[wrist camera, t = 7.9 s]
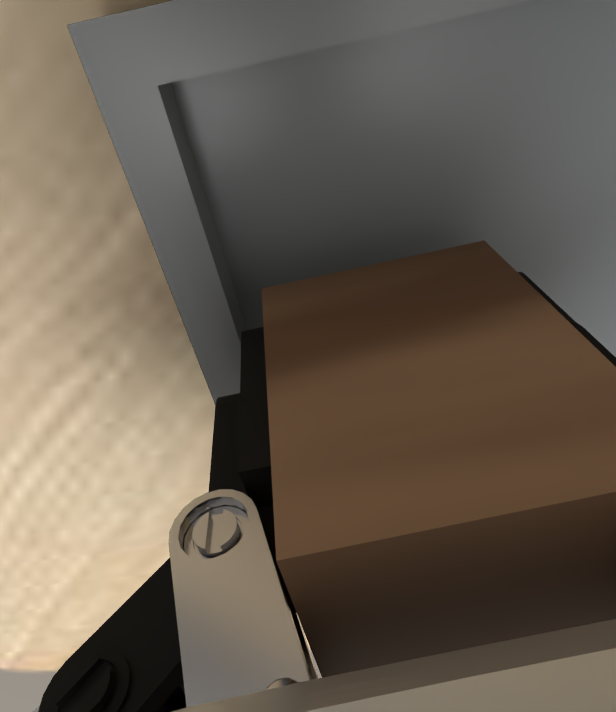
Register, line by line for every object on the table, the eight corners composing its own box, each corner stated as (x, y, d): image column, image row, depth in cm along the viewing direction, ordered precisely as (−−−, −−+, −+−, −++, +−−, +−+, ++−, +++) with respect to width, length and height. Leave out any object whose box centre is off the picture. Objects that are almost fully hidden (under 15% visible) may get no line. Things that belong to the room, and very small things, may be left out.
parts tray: (102, 23, 9) (66, 24, 7) (987, -183, 9) (1179, -234, 7) (273, 504, 17) (276, 562, 15) (738, 408, 17) (797, 456, 15)
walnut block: (261, 288, 10) (276, 560, 5) (484, 240, 10) (722, 469, 5) (304, 445, 12) (341, 726, 8) (481, 408, 12) (634, 668, 7)
